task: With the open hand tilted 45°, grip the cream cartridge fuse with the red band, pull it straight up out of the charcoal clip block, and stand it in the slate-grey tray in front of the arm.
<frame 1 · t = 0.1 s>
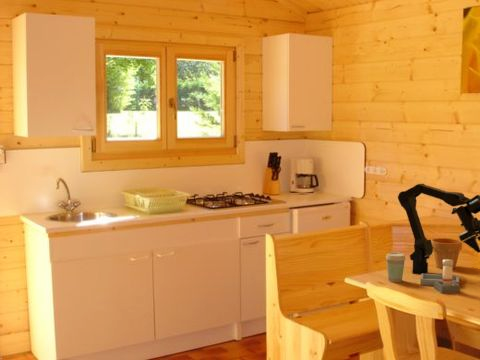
tray: (439, 283, 294), on the table
coffee cup: (395, 281, 298), on the table
fuse: (447, 275, 281), in the clip block
clip block: (447, 290, 281), on the table
flower pot: (445, 267, 324), on the table
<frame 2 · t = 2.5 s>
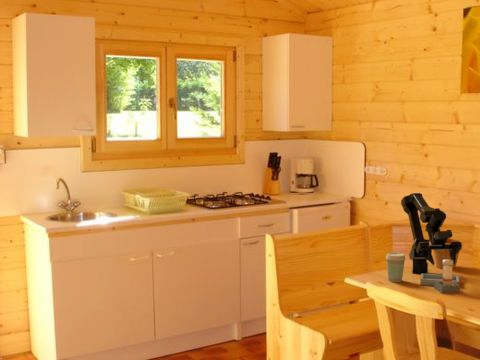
hand: (444, 264, 284), 10 cm above the table, tool tilted 45°, fingers open, 9 cm apart
nothing on the table moved.
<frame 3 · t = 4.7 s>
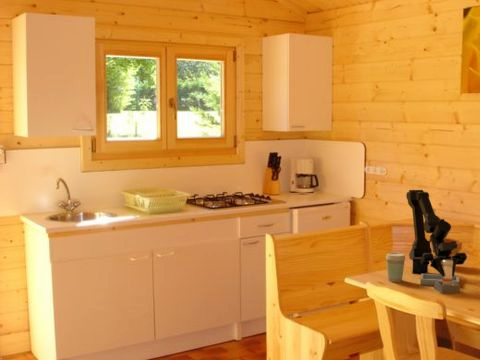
hand: (448, 276, 279), 7 cm above the table, tool tilted 45°, fingers closed on fuse, 4 cm apart
fuse: (447, 275, 281), in the clip block, touching gripper
everything else where it was.
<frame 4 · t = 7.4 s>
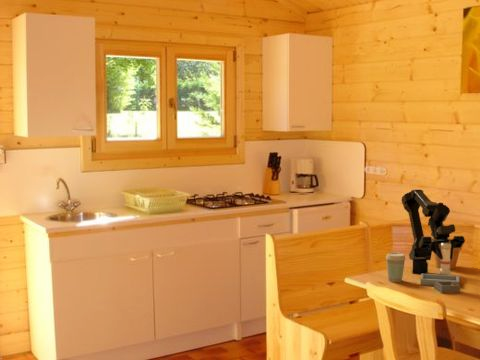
hand: (446, 259, 282), 13 cm above the table, tool tilted 45°, fingers closed on fuse, 4 cm apart
fuse: (445, 258, 284), point 13 cm above the table, touching gripper
everything else where it was.
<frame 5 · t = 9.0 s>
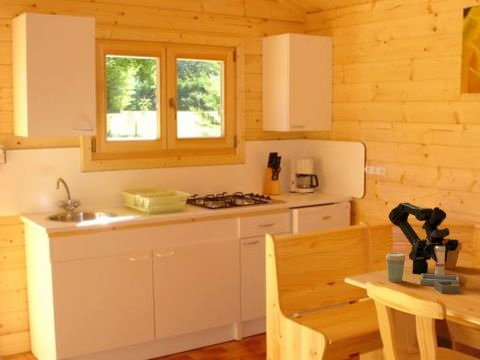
hand: (441, 261, 291), 10 cm above the table, tool tilted 45°, fingers closed on fuse, 4 cm apart
fuse: (440, 261, 293), point 10 cm above the table, touching gripper
everything else where it was.
when the fingers open (8 cm above the table, at t = 10.1 s): fuse stays where it is, resting on tray.
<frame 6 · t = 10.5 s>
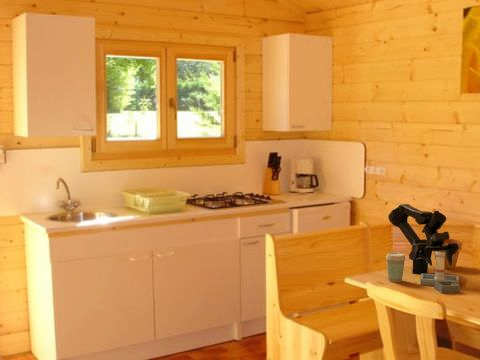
hand: (441, 265, 292), 8 cm above the table, tool tilted 45°, fingers open, 8 cm apart
fuse: (439, 266, 293), in the tray, point 7 cm above the table
everything else where it was.
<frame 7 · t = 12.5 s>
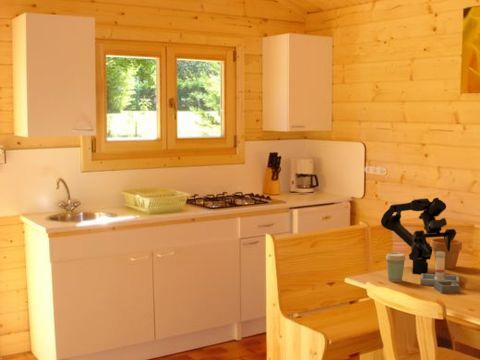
hand: (439, 251, 295), 14 cm above the table, tool tilted 45°, fingers open, 9 cm apart
nothing on the table moved.
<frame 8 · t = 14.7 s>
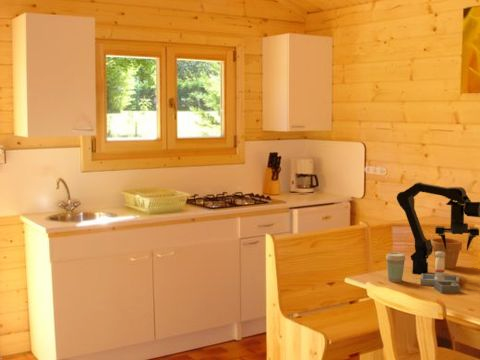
hand: (456, 249, 302), 13 cm above the table, tool pointing down, fingers open, 9 cm apart
nothing on the table moved.
at the end: fuse inside the target area on the tray (0.1 cm from its centre), point 7.3 cm above the tray's base; fuse tilted 0°; the gripper is holding nothing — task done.
